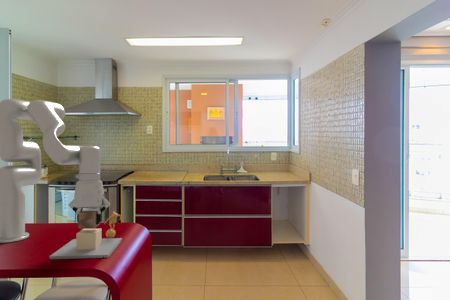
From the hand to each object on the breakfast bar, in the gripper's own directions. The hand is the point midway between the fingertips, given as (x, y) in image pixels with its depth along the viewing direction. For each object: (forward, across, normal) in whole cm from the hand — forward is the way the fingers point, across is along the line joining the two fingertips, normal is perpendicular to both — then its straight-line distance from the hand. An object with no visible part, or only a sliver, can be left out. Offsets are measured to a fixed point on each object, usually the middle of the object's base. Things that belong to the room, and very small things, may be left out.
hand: (89, 223), depth 114 cm
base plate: (+10, 0, 0) cm, 10 cm away
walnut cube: (+1, 0, 0) cm, 1 cm away
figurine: (+10, +5, +13) cm, 17 cm away
